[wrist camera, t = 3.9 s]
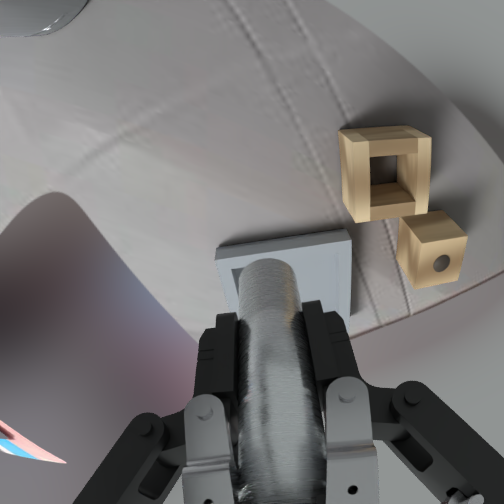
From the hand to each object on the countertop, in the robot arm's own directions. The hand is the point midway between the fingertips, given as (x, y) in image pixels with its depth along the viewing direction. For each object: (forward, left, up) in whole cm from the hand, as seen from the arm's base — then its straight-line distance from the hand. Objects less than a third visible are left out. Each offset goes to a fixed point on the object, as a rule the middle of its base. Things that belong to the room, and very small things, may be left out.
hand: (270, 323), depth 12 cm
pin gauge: (0, 0, -3) cm, 3 cm away
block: (+8, +15, -16) cm, 24 cm away
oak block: (0, +10, -16) cm, 19 cm away
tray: (+12, +1, -16) cm, 20 cm away
